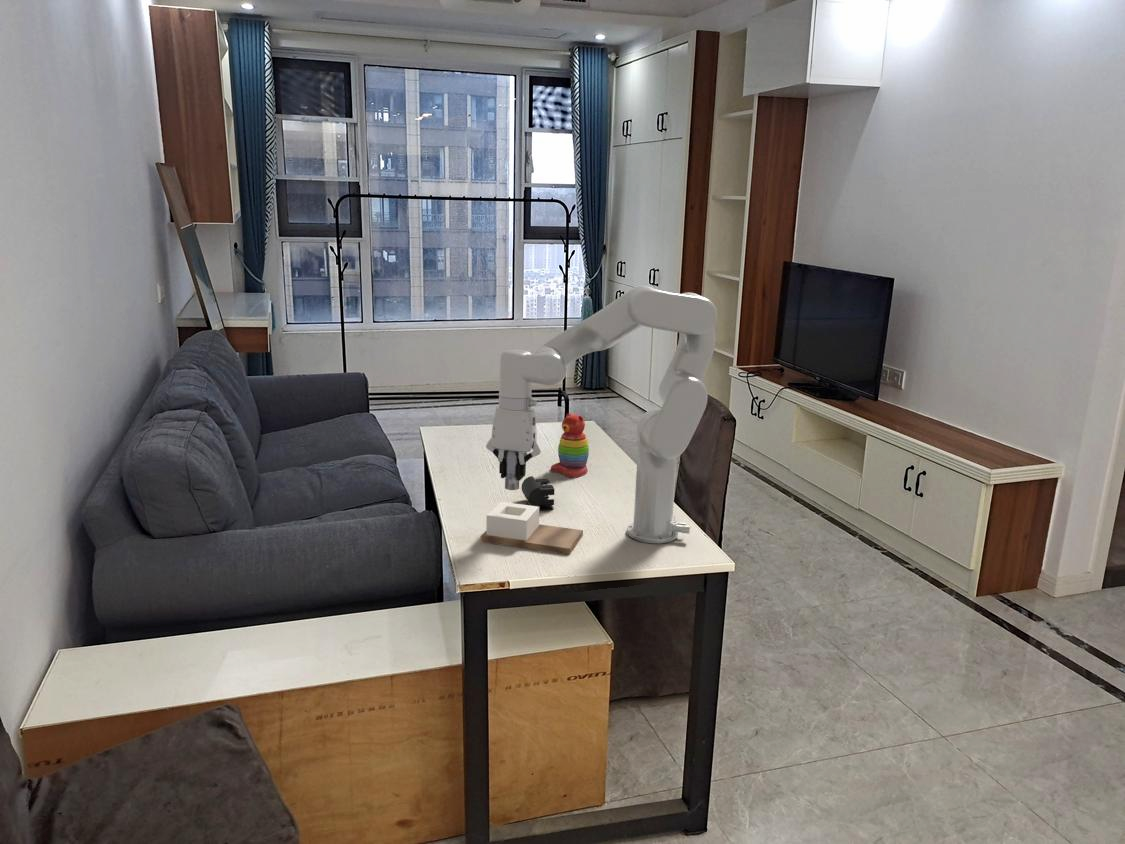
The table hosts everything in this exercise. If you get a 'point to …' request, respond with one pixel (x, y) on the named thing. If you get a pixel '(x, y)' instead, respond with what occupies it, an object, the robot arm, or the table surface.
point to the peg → (511, 470)
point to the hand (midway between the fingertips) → (512, 477)
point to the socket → (512, 521)
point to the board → (542, 539)
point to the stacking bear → (572, 448)
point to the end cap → (538, 493)
